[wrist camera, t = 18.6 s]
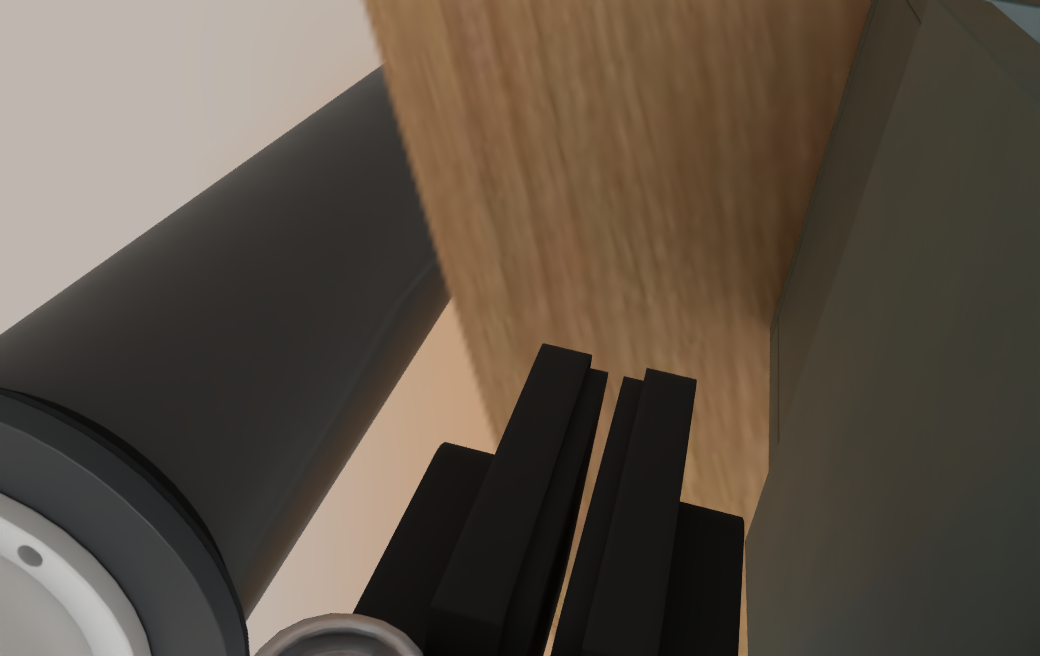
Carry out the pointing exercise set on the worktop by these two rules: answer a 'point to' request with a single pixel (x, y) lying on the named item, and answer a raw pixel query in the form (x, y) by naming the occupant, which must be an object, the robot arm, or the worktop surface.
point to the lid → (921, 381)
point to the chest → (848, 185)
